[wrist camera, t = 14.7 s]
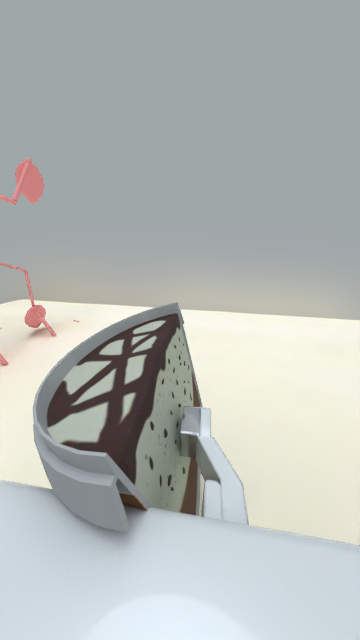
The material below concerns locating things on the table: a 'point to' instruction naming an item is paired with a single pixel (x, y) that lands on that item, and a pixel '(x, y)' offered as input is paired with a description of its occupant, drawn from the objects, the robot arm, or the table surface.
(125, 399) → the food container
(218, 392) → the table surface
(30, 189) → the figurine
